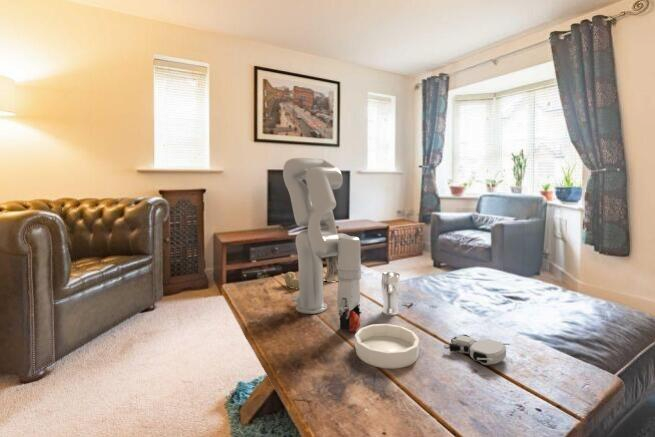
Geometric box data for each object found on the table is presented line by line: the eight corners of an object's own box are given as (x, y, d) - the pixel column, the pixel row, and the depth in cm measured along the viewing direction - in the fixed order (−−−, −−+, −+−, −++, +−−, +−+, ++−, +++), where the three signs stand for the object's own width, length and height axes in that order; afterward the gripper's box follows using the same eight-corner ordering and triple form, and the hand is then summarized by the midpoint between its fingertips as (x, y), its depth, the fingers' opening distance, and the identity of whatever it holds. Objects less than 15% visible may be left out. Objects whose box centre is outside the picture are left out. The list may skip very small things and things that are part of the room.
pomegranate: (342, 342, 107) (366, 325, 106) (329, 323, 108) (353, 306, 107) (345, 334, 115) (368, 318, 113) (333, 317, 116) (355, 301, 114)
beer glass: (399, 316, 122) (400, 277, 121) (380, 315, 124) (381, 276, 122) (399, 309, 129) (400, 272, 128) (381, 308, 130) (381, 271, 129)
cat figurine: (294, 279, 151) (281, 267, 160) (288, 293, 152) (275, 280, 160) (307, 280, 156) (294, 269, 165) (301, 294, 157) (289, 281, 166)
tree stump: (326, 283, 164) (326, 257, 162) (319, 278, 173) (319, 253, 171) (344, 281, 167) (344, 255, 166) (337, 276, 176) (337, 252, 175)
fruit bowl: (347, 360, 92) (346, 344, 92) (366, 333, 109) (366, 320, 108) (412, 374, 85) (412, 358, 84) (422, 343, 101) (422, 329, 101)
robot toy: (441, 356, 96) (495, 374, 84) (440, 341, 95) (494, 357, 84) (461, 342, 104) (512, 357, 92) (460, 328, 104) (512, 341, 92)
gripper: (348, 267, 118) (348, 313, 120) (328, 279, 103) (329, 332, 104) (368, 268, 115) (368, 316, 117) (351, 281, 100) (351, 336, 101)
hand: (350, 323), depth 110 cm, fingers open, 9 cm apart
